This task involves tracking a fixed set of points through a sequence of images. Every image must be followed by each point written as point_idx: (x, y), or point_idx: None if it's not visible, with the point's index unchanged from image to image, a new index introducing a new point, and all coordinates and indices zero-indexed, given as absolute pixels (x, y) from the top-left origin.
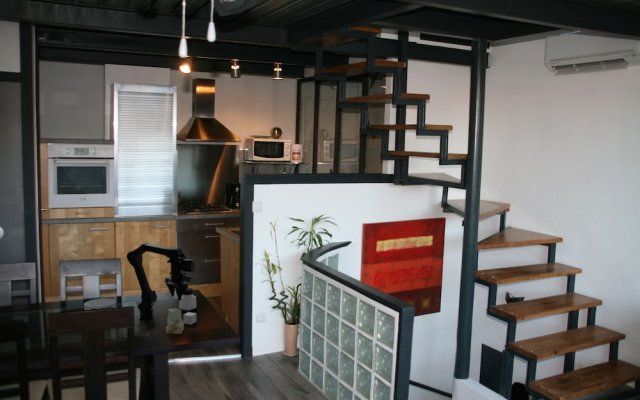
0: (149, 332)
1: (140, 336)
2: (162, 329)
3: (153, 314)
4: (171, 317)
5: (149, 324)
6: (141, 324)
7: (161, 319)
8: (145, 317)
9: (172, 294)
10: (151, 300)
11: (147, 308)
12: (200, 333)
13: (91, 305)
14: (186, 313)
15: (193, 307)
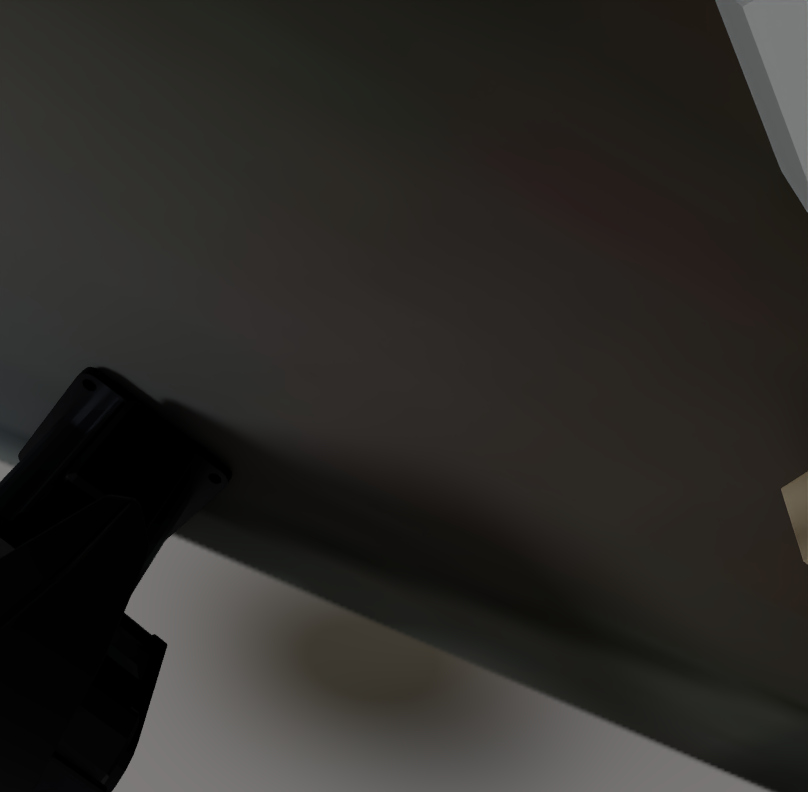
0: (689, 679)
1: (726, 771)
2: (729, 553)
3: (127, 427)
4: None
5: (402, 550)
6: (344, 598)
7: (284, 350)
8: (176, 520)
9: (106, 606)
10: (89, 754)
11: (129, 625)
12: None
13: None
14: (806, 123)
15: None
